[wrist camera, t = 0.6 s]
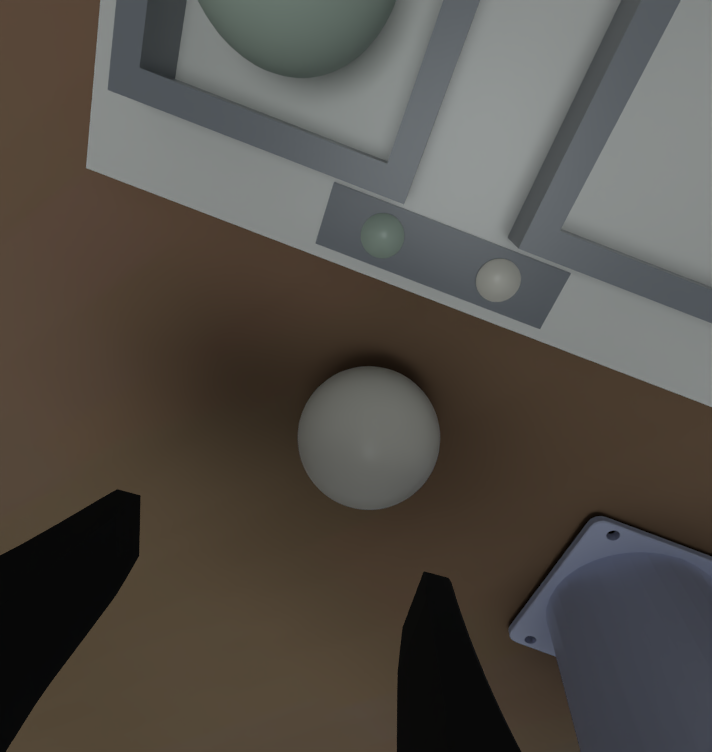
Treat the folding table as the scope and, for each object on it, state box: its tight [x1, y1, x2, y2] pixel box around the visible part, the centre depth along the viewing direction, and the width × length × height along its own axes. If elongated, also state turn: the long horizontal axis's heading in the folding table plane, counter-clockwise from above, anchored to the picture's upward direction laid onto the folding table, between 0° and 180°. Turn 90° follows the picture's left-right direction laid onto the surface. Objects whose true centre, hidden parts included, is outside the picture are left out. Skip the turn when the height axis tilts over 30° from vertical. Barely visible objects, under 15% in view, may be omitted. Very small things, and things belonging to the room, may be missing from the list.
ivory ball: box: [298, 366, 440, 510], centre depth 17 cm, size 5×5×5 cm
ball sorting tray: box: [86, 0, 712, 407], centre depth 13 cm, size 24×14×3 cm, turn 71°
